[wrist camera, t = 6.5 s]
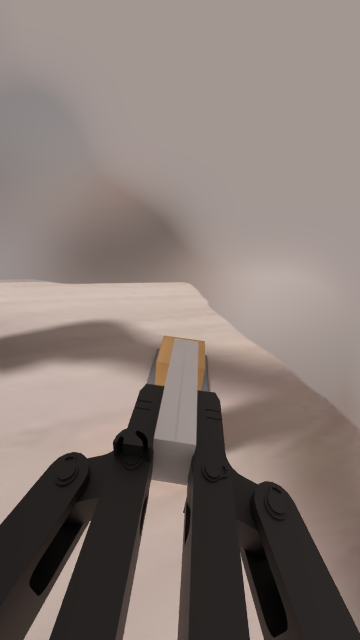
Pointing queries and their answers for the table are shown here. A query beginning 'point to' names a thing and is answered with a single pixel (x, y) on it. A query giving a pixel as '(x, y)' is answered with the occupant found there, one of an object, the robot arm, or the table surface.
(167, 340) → the tall block
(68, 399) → the table surface
